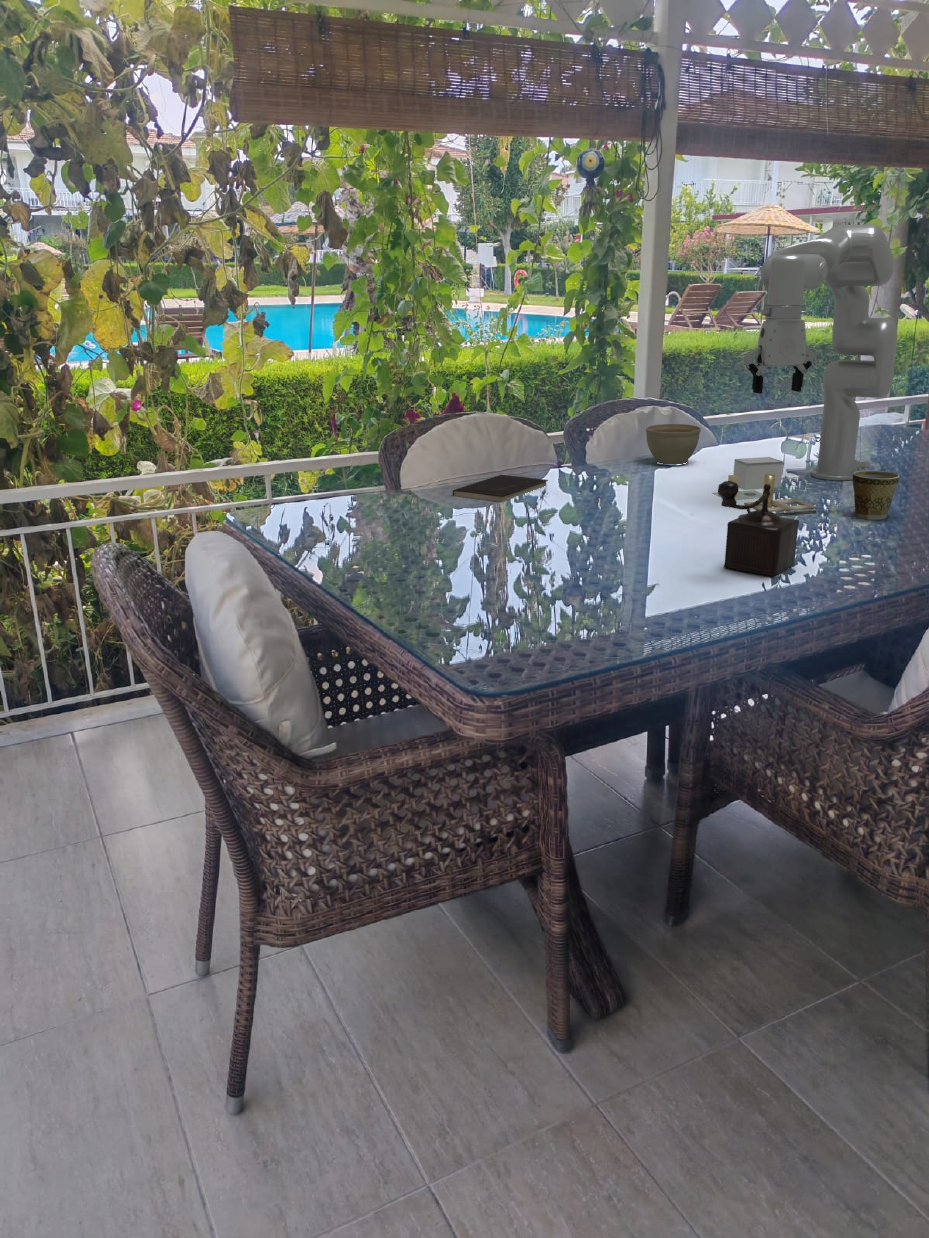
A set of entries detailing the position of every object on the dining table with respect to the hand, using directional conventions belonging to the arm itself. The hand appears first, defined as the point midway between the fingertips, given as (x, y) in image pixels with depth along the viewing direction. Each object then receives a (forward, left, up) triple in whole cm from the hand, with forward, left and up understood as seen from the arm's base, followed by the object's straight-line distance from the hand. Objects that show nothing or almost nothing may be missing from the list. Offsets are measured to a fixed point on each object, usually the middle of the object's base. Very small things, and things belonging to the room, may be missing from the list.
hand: (776, 392), depth 217 cm
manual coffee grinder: (+25, +42, -29) cm, 57 cm away
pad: (-1, -14, -28) cm, 32 cm away
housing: (-9, -23, -28) cm, 38 cm away
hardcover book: (+55, -43, -29) cm, 76 cm away
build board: (-4, 0, -28) cm, 29 cm away
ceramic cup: (-21, +9, -28) cm, 37 cm away
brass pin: (0, 0, -28) cm, 28 cm away
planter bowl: (-4, -65, -28) cm, 71 cm away
